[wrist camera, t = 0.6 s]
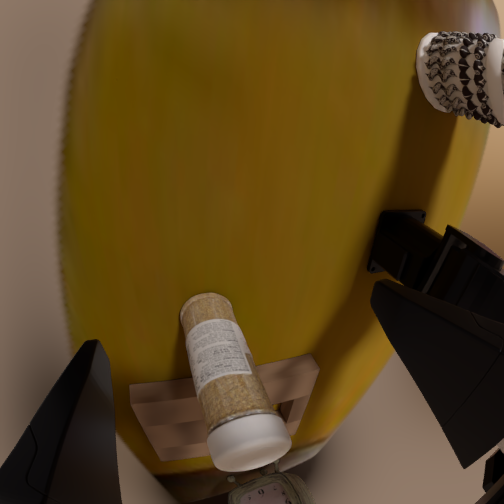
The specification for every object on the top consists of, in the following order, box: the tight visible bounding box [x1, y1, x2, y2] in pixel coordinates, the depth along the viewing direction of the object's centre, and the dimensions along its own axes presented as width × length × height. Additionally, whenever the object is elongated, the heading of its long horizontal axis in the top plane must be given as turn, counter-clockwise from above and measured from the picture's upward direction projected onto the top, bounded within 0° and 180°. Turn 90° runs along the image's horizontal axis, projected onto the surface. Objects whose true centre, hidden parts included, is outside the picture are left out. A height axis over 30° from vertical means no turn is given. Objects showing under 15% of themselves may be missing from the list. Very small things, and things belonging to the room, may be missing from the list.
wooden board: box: [129, 354, 320, 461], centre depth 32 cm, size 20×17×2 cm
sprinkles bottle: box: [180, 293, 292, 472], centre depth 19 cm, size 5×5×13 cm
